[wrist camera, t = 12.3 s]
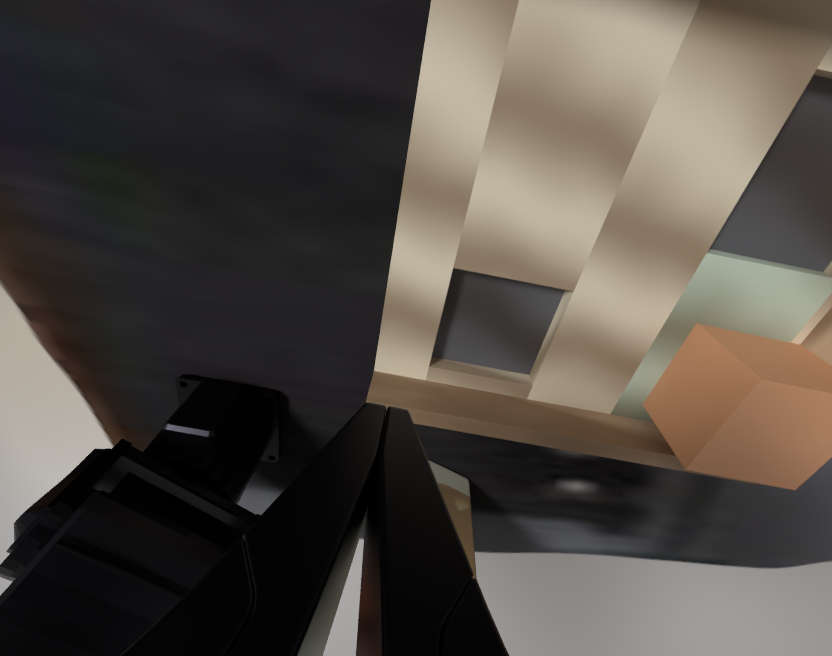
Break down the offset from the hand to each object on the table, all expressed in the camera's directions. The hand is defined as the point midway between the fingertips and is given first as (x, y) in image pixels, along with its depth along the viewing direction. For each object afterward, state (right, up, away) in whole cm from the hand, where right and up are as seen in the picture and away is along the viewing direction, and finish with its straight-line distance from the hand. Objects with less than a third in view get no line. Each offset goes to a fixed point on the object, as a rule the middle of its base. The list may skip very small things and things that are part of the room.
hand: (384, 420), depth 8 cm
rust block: (+17, -1, +13) cm, 21 cm away
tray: (+11, +6, +11) cm, 16 cm away
